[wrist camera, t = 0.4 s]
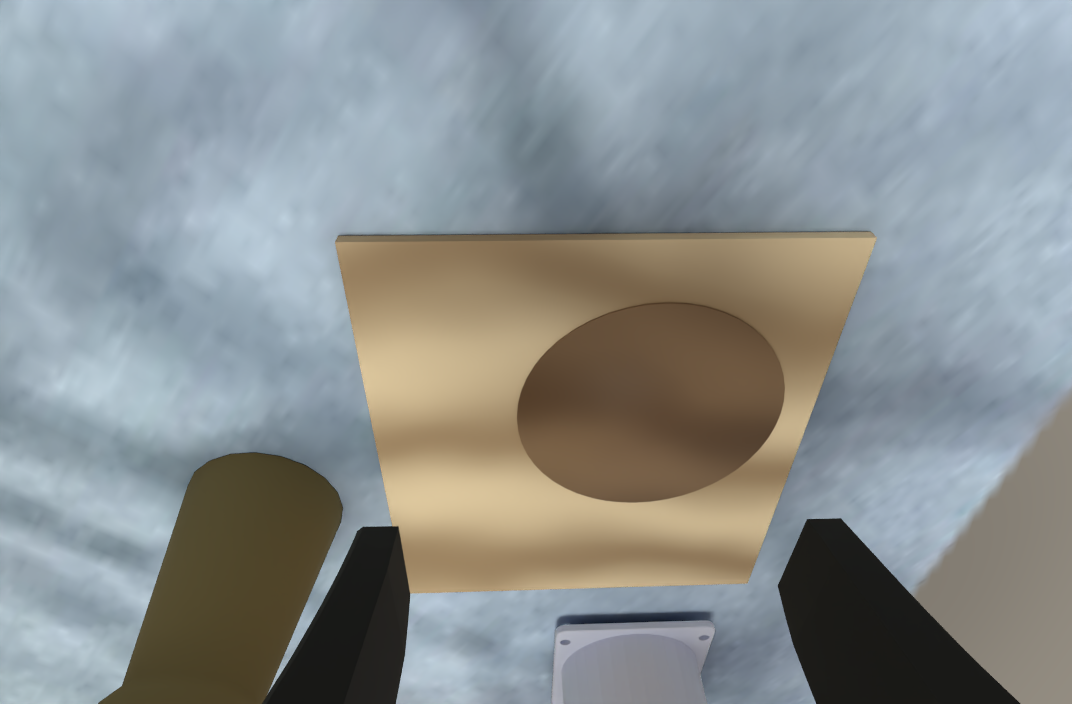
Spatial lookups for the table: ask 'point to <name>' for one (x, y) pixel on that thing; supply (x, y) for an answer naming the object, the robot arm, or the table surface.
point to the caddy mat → (592, 397)
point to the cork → (232, 582)
